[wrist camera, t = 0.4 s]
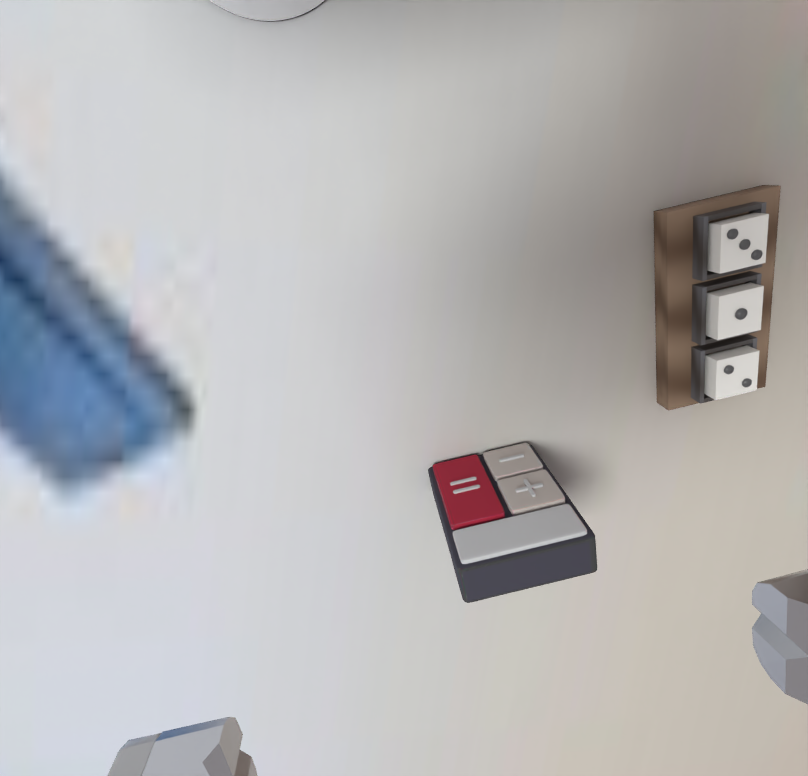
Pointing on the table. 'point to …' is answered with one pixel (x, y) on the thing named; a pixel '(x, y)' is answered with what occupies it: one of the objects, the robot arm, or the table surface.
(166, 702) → the table surface
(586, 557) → the calculator
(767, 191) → the key panel
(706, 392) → the key two
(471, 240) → the table surface
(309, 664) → the table surface
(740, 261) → the key three
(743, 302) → the key one
